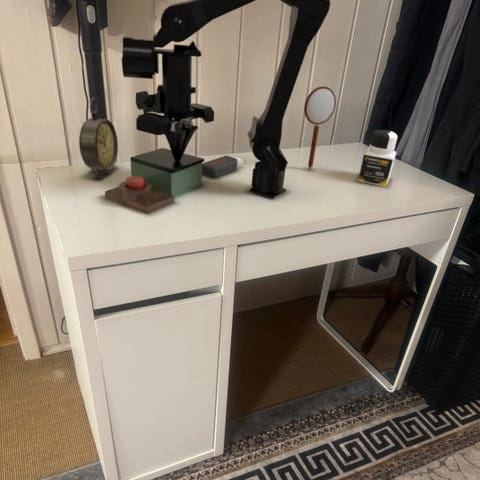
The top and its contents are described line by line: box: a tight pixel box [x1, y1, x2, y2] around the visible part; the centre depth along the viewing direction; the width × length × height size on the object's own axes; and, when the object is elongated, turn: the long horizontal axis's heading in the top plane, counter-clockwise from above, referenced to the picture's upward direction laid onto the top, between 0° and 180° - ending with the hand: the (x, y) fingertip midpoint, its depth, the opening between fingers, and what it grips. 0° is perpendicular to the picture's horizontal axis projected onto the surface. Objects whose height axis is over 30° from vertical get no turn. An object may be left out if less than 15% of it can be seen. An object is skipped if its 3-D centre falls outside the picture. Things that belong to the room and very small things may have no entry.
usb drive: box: [202, 155, 242, 180], centre depth 115 cm, size 5×12×3 cm, turn 144°
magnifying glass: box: [303, 86, 337, 171], centre depth 116 cm, size 9×2×20 cm, turn 113°
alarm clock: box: [78, 97, 119, 180], centre depth 104 cm, size 11×5×16 cm, turn 168°
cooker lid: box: [130, 147, 205, 173], centre depth 102 cm, size 12×11×1 cm
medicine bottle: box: [357, 129, 398, 188], centre depth 116 cm, size 7×7×12 cm
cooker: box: [130, 160, 203, 198], centre depth 104 cm, size 12×11×5 cm
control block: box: [104, 180, 175, 215], centre depth 96 cm, size 12×8×4 cm
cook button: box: [125, 175, 145, 190], centre depth 94 cm, size 4×4×2 cm
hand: (177, 160), depth 101 cm, fingers closed
